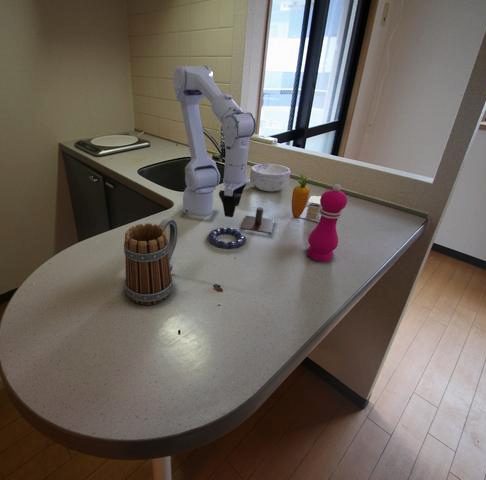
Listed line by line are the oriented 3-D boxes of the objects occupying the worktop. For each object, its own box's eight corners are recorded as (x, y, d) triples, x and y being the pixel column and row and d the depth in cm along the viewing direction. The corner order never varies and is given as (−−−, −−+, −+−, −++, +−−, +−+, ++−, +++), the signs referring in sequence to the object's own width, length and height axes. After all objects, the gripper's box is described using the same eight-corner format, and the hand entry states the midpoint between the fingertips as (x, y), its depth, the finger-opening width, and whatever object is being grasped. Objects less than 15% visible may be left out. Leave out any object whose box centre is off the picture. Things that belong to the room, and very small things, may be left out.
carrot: (304, 223, 100) (314, 178, 93) (288, 222, 101) (296, 177, 94) (302, 217, 105) (312, 173, 97) (287, 215, 106) (295, 172, 98)
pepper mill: (333, 251, 87) (353, 181, 77) (334, 265, 81) (355, 191, 71) (305, 246, 89) (321, 177, 79) (304, 259, 83) (321, 187, 73)
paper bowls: (258, 178, 137) (261, 160, 133) (293, 186, 129) (296, 167, 125) (242, 188, 126) (244, 169, 122) (278, 198, 118) (281, 177, 114)
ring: (203, 248, 87) (203, 240, 86) (213, 231, 96) (213, 223, 94) (241, 255, 84) (242, 247, 83) (248, 237, 93) (249, 229, 91)
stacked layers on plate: (323, 224, 101) (327, 208, 98) (296, 216, 105) (299, 200, 102) (333, 213, 107) (337, 198, 105) (307, 206, 112) (310, 192, 109)
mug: (153, 313, 65) (149, 251, 57) (115, 295, 70) (107, 236, 62) (193, 275, 76) (194, 219, 69) (158, 261, 81) (156, 208, 74)
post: (240, 232, 95) (242, 212, 92) (245, 219, 103) (247, 200, 99) (270, 237, 93) (273, 217, 90) (273, 223, 100) (276, 205, 97)
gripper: (246, 173, 75) (241, 224, 82) (255, 157, 87) (250, 202, 94) (217, 169, 77) (214, 219, 84) (230, 154, 89) (227, 199, 96)
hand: (231, 210), depth 89 cm, fingers open, 7 cm apart
